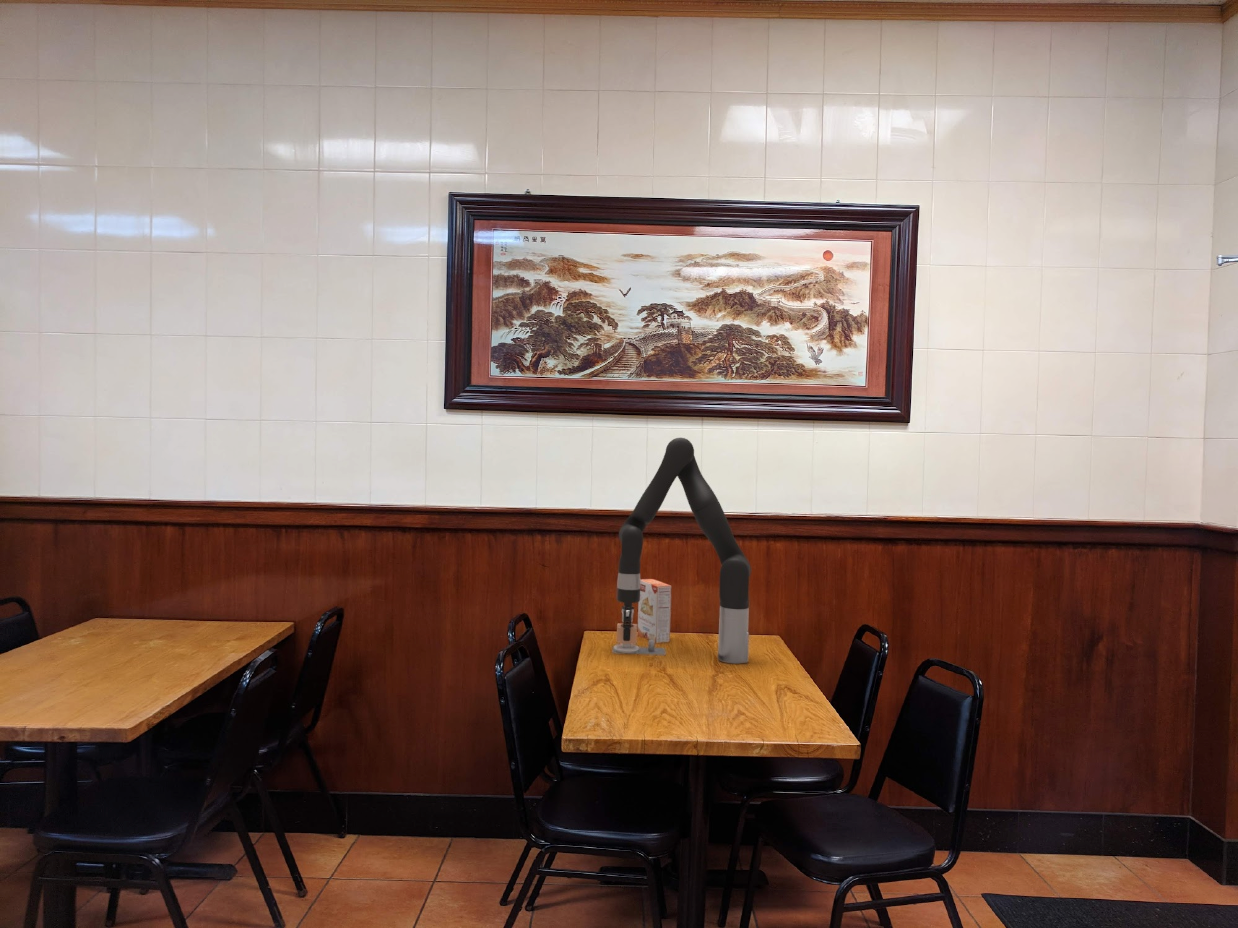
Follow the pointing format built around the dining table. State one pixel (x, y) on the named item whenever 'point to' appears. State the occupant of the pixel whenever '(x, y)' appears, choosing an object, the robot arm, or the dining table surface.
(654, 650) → the hub base
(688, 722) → the dining table surface
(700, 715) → the dining table surface
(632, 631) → the collar
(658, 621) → the cracker box
